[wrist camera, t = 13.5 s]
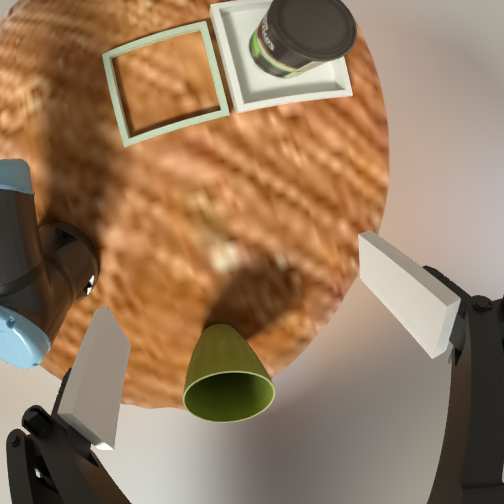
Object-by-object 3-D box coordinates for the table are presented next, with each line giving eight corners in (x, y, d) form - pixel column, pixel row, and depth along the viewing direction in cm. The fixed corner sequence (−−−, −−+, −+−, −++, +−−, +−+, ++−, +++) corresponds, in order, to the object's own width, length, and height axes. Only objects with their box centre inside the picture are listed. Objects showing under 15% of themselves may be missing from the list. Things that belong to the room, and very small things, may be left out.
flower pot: (270, 321, 55) (293, 381, 41) (236, 368, 59) (248, 427, 45) (201, 296, 50) (204, 360, 36) (172, 350, 54) (170, 413, 40)
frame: (126, 146, 37) (124, 147, 36) (104, 56, 30) (101, 54, 29) (228, 115, 38) (229, 114, 37) (205, 24, 31) (205, 20, 30)
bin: (235, 113, 38) (238, 112, 35) (209, 13, 30) (210, 4, 27) (342, 97, 39) (352, 95, 36) (317, 4, 31) (325, -3, 28)
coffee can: (247, 77, 36) (269, 53, 23) (248, 19, 31) (269, -22, 19) (312, 83, 37) (358, 68, 25) (312, 27, 33) (354, -3, 20)
